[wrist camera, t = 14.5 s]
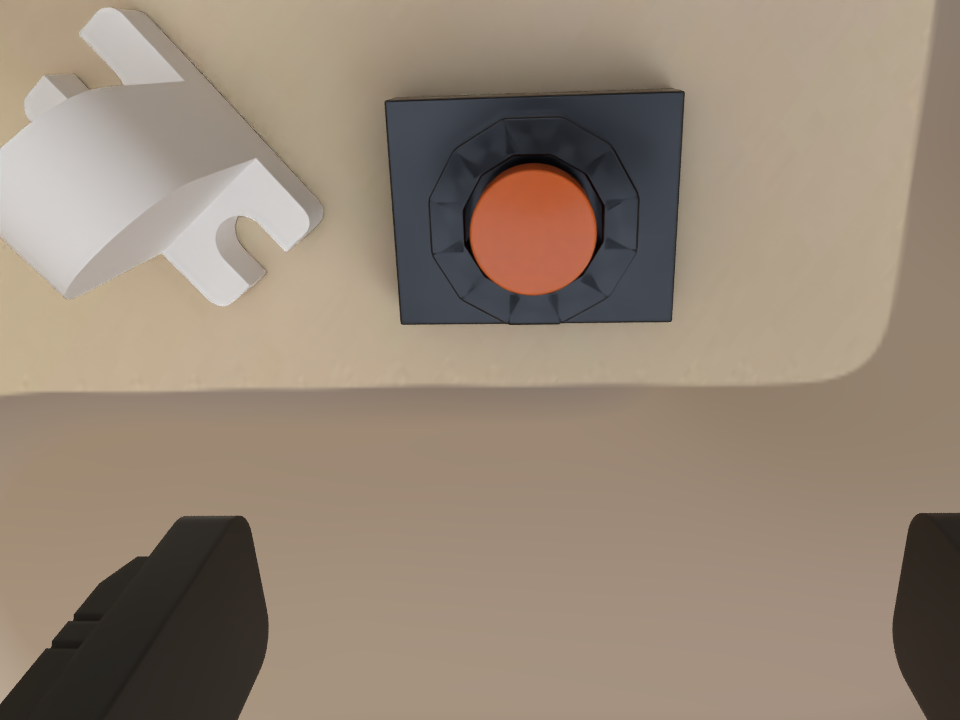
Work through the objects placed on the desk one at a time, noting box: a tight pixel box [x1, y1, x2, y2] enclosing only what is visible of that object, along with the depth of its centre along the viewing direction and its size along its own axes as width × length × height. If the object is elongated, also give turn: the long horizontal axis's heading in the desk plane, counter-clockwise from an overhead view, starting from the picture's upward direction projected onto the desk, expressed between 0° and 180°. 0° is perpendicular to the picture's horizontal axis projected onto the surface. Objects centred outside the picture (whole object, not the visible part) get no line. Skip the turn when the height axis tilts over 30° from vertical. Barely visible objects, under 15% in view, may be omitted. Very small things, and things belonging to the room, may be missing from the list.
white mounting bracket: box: [0, 7, 323, 306], centre depth 25 cm, size 5×10×10 cm, turn 41°
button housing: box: [385, 88, 685, 325], centre depth 28 cm, size 10×8×4 cm
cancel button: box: [470, 163, 597, 296], centre depth 25 cm, size 4×4×2 cm
